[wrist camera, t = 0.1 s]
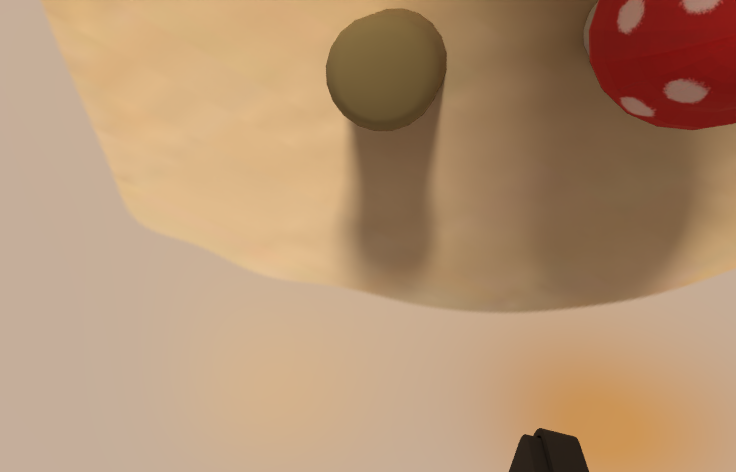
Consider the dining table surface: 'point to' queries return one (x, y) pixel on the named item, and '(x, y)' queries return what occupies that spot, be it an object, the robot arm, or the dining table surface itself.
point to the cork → (386, 69)
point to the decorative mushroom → (666, 59)
